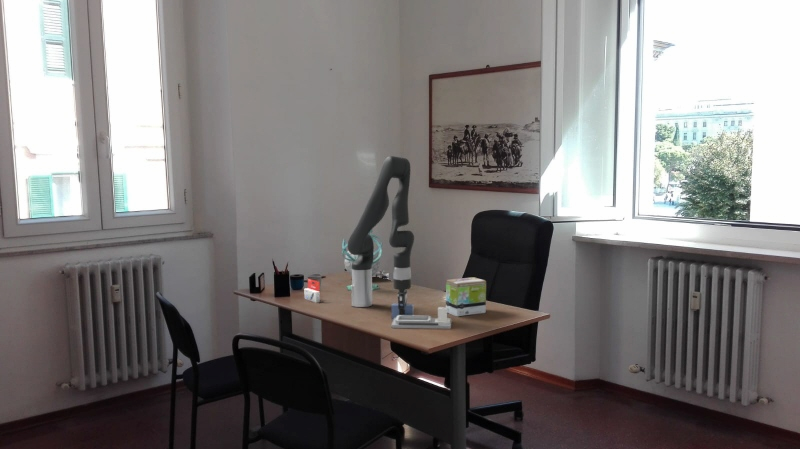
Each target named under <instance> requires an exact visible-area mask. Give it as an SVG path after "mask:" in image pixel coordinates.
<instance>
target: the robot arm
mask: <svg viewBox="0 0 800 449" xmlns="http://www.w3.org/2000/svg"><path fill="white" fill-rule="evenodd" d="M381 165H382V166H381V168H380V171H379V175H378V178H377V181H376V183H375V185H374V187H373V191H372V192H371V195H370V196H369V199H368V200H367V202H366V205H365V208H364V210H363V212H362V214H361V216H360V218H359V220H358V223H357V225H356V226H355V228H354V229H353V231H352V233H351V234H350V236H349V238H348V240H347V243H348V246H347V252H348V251H349V252H350V253H351V254H353V255H358V258H357V259H356V260H355V261H354V262H353V263H352V276H351V285H352V286H351V290H350V291H351V307H357V308H367V307H370V306H373V291H372V284H373V276H372V263H373V253H374V249H375V248H374V247H375V246H374V245H375V244H374V240H373V239H372V237H371V236H370V235H369V232H370V231H371V230H372V231H373V229H374V228H375V227H376V226H377V225H378V224H379V223H380V222H381V221H382V220H383V218H384V217H385V215H386V212H387V210H388V209H389V205H390V199H389V198H390V197H389V192H388V188H389V187H388V186H389V183H390V181H391V180H392V179H398V190H397V193H396V195H395V197H394V199H393V201H392V204H391V219H392V220H391V228H390V233H389V237H388V238H389V239H388V242H389V245H390V246H391V247H392V248H404V250H402V251H399V252H397V253H395V254H393V274H392V276H393V277H392V278H393V279H392V280H393V285H392V286H393V289H394V290H398V292H397V295H396V296H397V303H398V309H399V315H405V304H406V303H408V290H410V289H411V288H412V271H411V254H412V250H413V246H414V241H415V235H414V233H413V231H411V230H398V229H399V228H401V227H405V226H407V225H408V224H409V222H410V218H409V202H408V201H409V192H410V191H409V190H410V181H411V163H410V161H409V159H408V158H406V157H400V156H394V155H389V156H387V157H385V159H384V161H383V163H382V164H381ZM400 304H403V306H400Z"/></svg>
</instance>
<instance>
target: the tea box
mask: <svg viewBox="0 0 800 449" xmlns="http://www.w3.org/2000/svg"><path fill="white" fill-rule="evenodd" d="M445 282H446V283H445V288H446V289H445V291H446V292H445V307H447V314H449V315H452V316H455V317H460V316H461V317H462V316H469V315H479V314H485V313H486V309H487V306H486V304H487V281H486V280H485V279H481V278H477V277H464V278H452V279H446V281H445Z"/></svg>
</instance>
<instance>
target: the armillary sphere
mask: <svg viewBox="0 0 800 449" xmlns="http://www.w3.org/2000/svg"><path fill="white" fill-rule="evenodd" d="M372 233H373V229H372V230H371V231H370V232H369V235H370V236H371V237H372V239H373V242H375V243H376V245H377V247H378V249H377V250H376V252H375V253H373V256H374V255H375V254H376V253H378V255H379V256H378V257H377V258H376V259H375V260H374V261H373V263H372V264H374V263H376V262H377V261H378V260H379V259H380V260H381V257H382V254H383V248H382V246H383V241H382V239H381V238H380V237H379V236H378V235H376V234H372ZM376 238H377V239H379V240H380V243H379V241H378V240H377V239H376ZM341 247H342V248H341V249H342V251H341V256H342V257H343V258H344V260H345V259H346V260H348V261H352V262H354V261H355V260H356V259H357V256H355V259H354V258H353V257H352V256H350V255H349V254H348V250H347V248H348V242H347V243H346V239H345V238H343V239H342V246H341ZM344 254H345V255H344ZM346 255H347V256H348V257H349V258H350V259H348V258H346V257H345V256H346ZM351 286H352V284H350V285H347V286H346V289H347V291H351ZM377 286H378V287H377ZM375 290H380V287H379V285H378V284H376V283H375V284H374V283H372V292H373V291H375Z"/></svg>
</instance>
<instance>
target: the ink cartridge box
mask: <svg viewBox="0 0 800 449" xmlns="http://www.w3.org/2000/svg"><path fill="white" fill-rule="evenodd" d="M320 284H321V283H320V281H319V280H318V281H317V280H314V279H310V278H307V288H306V287H305V288H304V289H303V290H304V291H303V292H304V294H303V295H304V299H305V300H307V301H310V302H314V303H321V293H320V286H321V285H320Z"/></svg>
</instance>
